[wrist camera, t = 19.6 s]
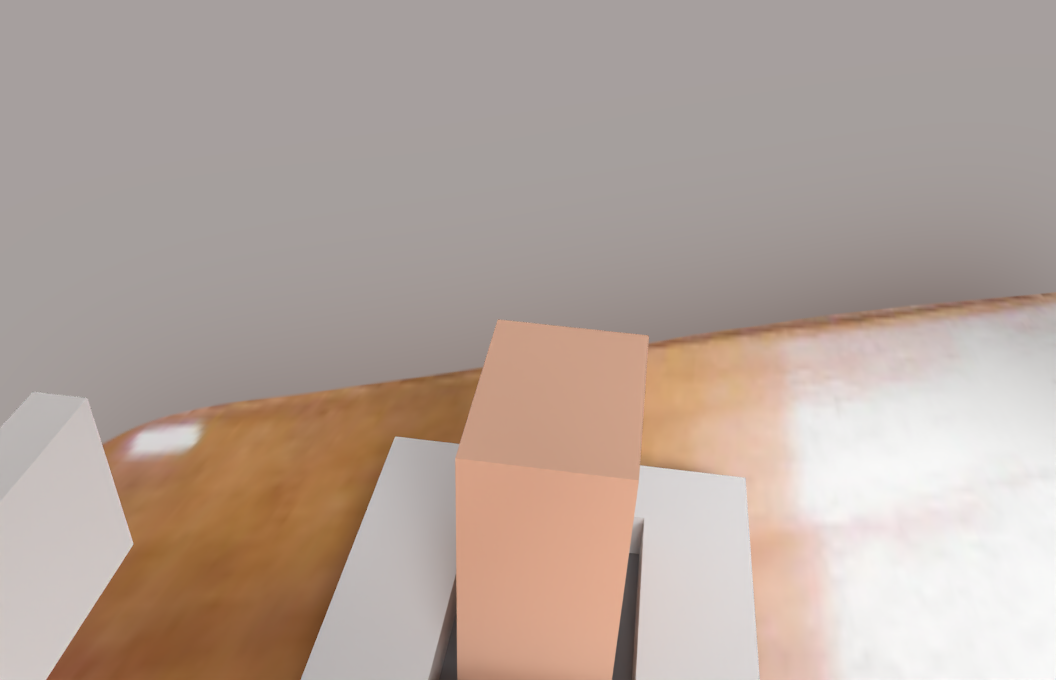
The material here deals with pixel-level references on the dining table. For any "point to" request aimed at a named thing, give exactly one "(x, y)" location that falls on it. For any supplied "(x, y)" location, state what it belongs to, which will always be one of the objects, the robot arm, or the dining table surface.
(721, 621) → the pocket plate
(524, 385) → the peach block
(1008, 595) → the dining table surface
